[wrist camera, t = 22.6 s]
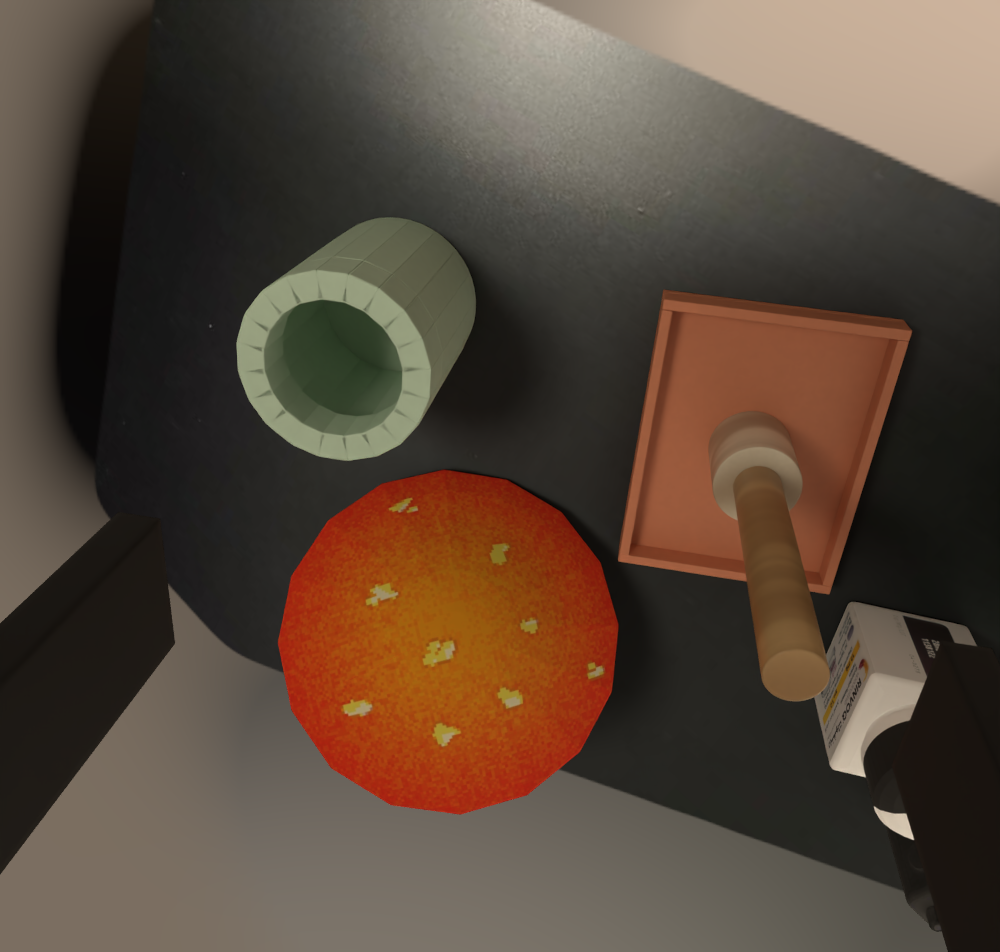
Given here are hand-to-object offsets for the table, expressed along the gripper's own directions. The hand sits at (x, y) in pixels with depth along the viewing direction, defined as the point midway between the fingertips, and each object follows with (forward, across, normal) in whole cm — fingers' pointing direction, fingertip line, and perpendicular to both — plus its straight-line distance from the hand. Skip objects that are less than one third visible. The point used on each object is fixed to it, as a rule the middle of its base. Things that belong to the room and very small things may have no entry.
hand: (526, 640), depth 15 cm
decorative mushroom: (+38, -6, -25) cm, 46 cm away
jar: (+38, -12, -7) cm, 41 cm away
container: (+38, +22, -27) cm, 52 cm away
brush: (+38, +10, -13) cm, 41 cm away
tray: (+38, +10, -13) cm, 42 cm away
